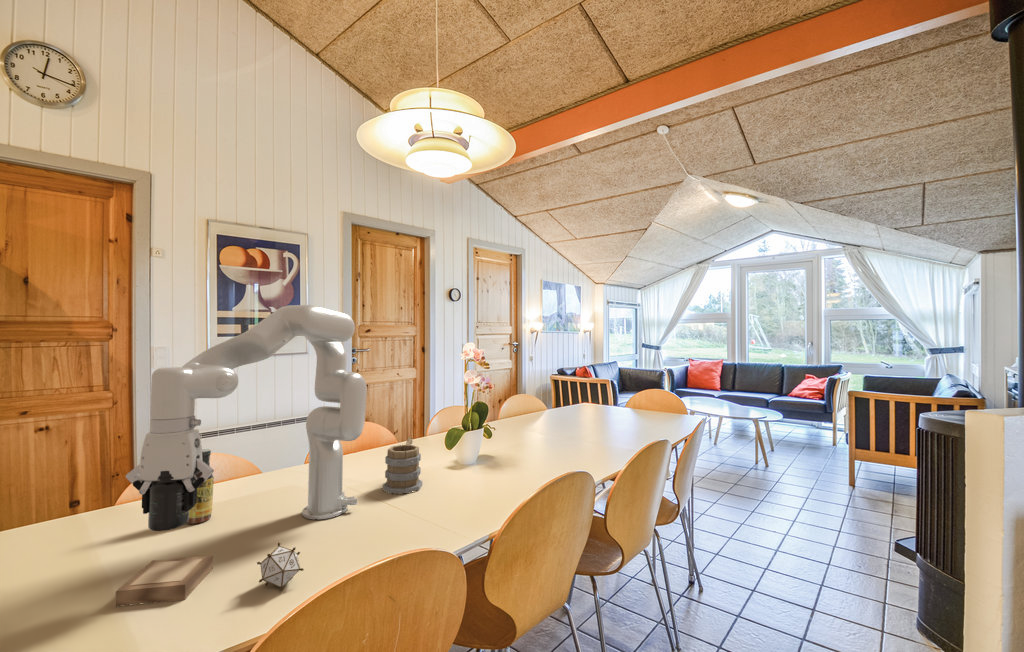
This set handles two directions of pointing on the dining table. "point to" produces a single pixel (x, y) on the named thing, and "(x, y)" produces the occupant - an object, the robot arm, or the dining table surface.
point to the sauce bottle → (203, 495)
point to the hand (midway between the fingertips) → (169, 509)
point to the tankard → (403, 468)
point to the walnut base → (165, 580)
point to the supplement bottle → (167, 503)
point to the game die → (280, 566)
